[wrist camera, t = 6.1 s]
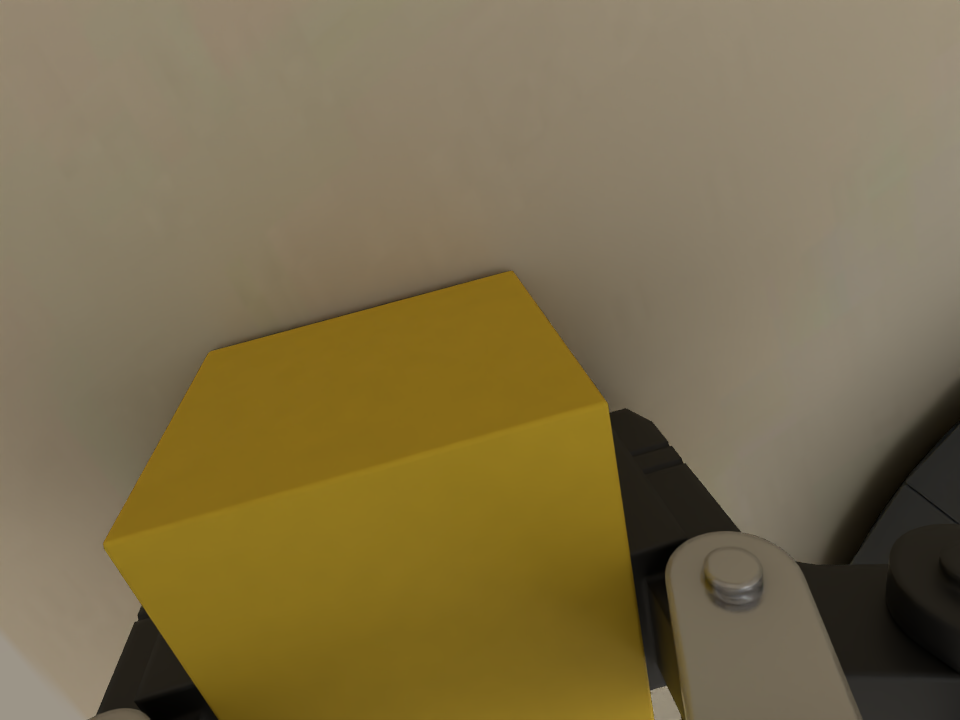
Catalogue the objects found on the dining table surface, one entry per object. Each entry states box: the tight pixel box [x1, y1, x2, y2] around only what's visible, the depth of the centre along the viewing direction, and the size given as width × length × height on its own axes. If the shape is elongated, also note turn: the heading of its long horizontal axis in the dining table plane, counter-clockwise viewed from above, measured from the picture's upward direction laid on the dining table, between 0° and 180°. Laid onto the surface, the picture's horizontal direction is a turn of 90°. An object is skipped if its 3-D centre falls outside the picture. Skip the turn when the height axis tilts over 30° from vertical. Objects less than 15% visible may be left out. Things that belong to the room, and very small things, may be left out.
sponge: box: [103, 271, 654, 720], centre depth 8 cm, size 4×6×4 cm
